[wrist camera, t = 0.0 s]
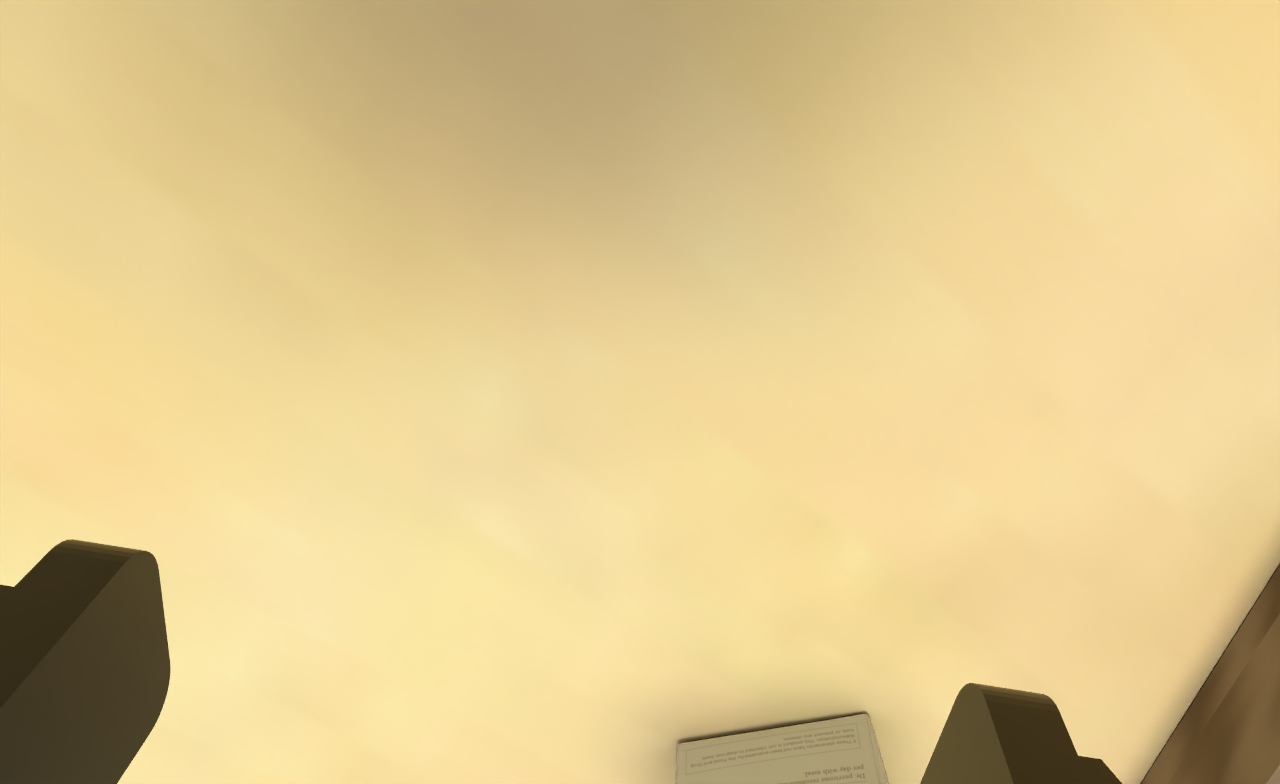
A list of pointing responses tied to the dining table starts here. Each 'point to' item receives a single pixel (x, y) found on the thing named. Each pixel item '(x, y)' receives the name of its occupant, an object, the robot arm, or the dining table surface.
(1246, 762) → the frame
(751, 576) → the dining table surface
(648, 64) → the dining table surface
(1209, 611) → the dining table surface
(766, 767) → the supplement box
